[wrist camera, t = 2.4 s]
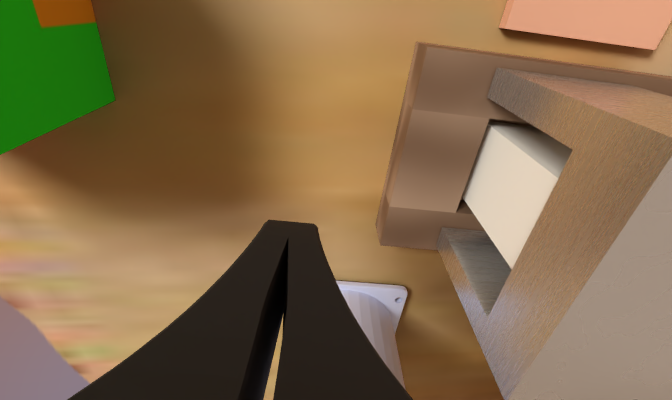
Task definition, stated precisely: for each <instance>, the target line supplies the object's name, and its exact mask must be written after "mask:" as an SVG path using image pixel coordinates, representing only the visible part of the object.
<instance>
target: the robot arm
mask: <svg viewBox="0 0 672 400" xmlns="http://www.w3.org/2000/svg"><path fill="white" fill-rule="evenodd" d="M407 294H408V293H407V289H406V288H405V287H404V286H399V285H386V284H373V283H360V282H347V281H336V280H335V278H334V276H333V273H332V271H331V269H330V266H329V264H328V262H327V259H326V256H325V253H324V251H323V248H322V245H321V241H320V237H319V233H318V228H317V226H316V225H315V224H310V223H298V222H287V221H276V220H268V221H267V222H265V223H264V225H263V227H262V228H261V230H260V231H259V232H258V234H257V235H256V236H255V238H254V239H253V240H252V242H251V243H250V244H249V245H248V247H247V248H246V249H245V250H244V252H243V253H242V254H241V255H240V256H239V257H238V259H237V260H236V261H235V262H234V263H233V264H232V265H231V267H230V268H229V269H228V270H227V271H226V272H225V273H224V274H223V275H222V276H221V277H220V278H219V279H218V280H217V281H216V282H215V283H214V284H213V285H212V286H211V287H210V288H209V289H208V290H207V291H206V292H205V293H204V294H203V295H202V296H201V297H200V298H199V299H198V300H197V301H196V302H195V303H194V304H193V305H192V306H191V307H189V308H188V309H187V310H186V311H185V312H184V313H183V314H182V315H180V316H179V317H178V318H177V319H176V320H175V321H173V322H172V323H171V324H170V325H169V326H168V327H166V328H165V329H164V330H163V331H161V332H160V333H159V334H158V335H156V336H155V337H154V338H152V339H151V340H150V341H149V342H147V343H146V344H145V345H144V346H142V347H141V348H140V349H139V350H137V351H136V352H135V353H133V354H132V355H131V356H129V357H128V358H127V359H125V360H124V361H123V362H121V363H120V364H118V365H117V366H116V367H114V368H113V369H111V370H110V371H109V372H107V373H106V374H104V375H103V376H101V377H100V378H98V379H97V380H95V381H94V382H92V383H91V384H90V385H88V386H87V387H85V388H84V389H82V390H81V391H79V392H78V393H76V394H75V395H73V396H72V397H71V398H69V399H68V400H263V398H264V393H265V389H266V385H267V380H268V376H269V372H270V368H271V363H272V359H273V355H274V351H275V346H276V342H277V338H278V334H279V329H280V325H281V321H282V316H283V340H282V346H281V353H280V359H279V366H278V373H277V379H276V386H275V392H274V399H273V400H413V399H412V398H411V397H410V395H409V394H408V393H407V391H406V389H405V384H404V379H403V374H402V369H401V364H400V359H399V354H398V349H397V344H396V339H395V332H396V329H397V326H398V323H399V320H400V317H401V314H402V310H403V307H404V304H405V301H406V298H407ZM399 297H400V298H399ZM396 298H398V299H396Z"/></svg>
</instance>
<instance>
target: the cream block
mask: <svg viewBox="0 0 672 400" xmlns="http://www.w3.org/2000/svg"><path fill="white" fill-rule="evenodd" d="M572 151H573V150H572V149H571V148H569V147H567V146H566V145H564V144H562V143H561V142H559V141H557V140H556V139H554V138H553V137H551V136H549V135H548V134H546V133H544V132H543V131H541V130H540V129H538V128H536V127H534V126H526V125H517V124H509V123H501V122H492V121H489V122H488V124H487V127H486V130H485V133H484V136H483V138H482V141H481V144H480V147H479V149H478V152H477V155H476V158H475V161H474V163H473V166H472V169H471V172H470V175H469V177H468V180H467V183H466V186H465V188H464V191H463V194H462V197H463V199H464V200H465V202H466V203H467V205H468V206H469V208H470V209H471V211H472V212H473V214H474V215H475V216H476V218H477V219H478V221H479V222H480V224H481V225H482V227H483V228H484V230H485V231H486V233H487V234H488V236H489V237H490V238H491V240H492V241H493V243H494V244H495V246H496V247H497V249H498V250H499V252H500V253H501V255H502V256H503V257H504V259H505V260H506V262H507V263H508V265H509V266H510V268H511V269H512V268H513V266H514V265H515V263H516V261H517V259H518V257H519V255H520V253H521V251H522V249H523V247H524V245H525V243H526V241H527V239H528V237H529V235H530V233H531V231H532V229H533V227H534V225H535V223H536V221H537V219H538V217H539V215H540V213H541V211H542V210H543V208H544V206H545V204H546V202H547V200H548V198H549V196H550V194H551V192H552V190H553V188H554V186H555V184H556V182H557V180H558V178H559V176H560V174H561V172H562V170H563V168H564V166H565V164H566V162H567V160H568V158H569V156H570V155H571V153H572Z"/></svg>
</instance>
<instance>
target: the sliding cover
mask: <svg viewBox="0 0 672 400" xmlns="http://www.w3.org/2000/svg"><path fill="white" fill-rule="evenodd" d="M487 98H489V99H490V100H492V101H494V102H495V103H497V104H499V105H500V106H502V107H504V108H505V109H507V110H508V111H510V112H512V113H513V114H515V115H517V116H518V117H520V118H522V119H523V120H525V121H526V122H528V123H530V124H531V125H533V126H535V127H536V128H538V129H540V130H541V131H543V132H544V133H546V134H548V135H549V136H551V137H553V138H554V139H556V140H557V141H559V142H561V143H562V144H564V145H566V146H567V147H569V148H571V149H572V150H573V151H572V153H571V155H570V156H569V158H568V160H567V162H566V164H565V166H564V168H563V170H562V172H561V174H560V176H559V178H558V180H557V182H556V184H555V186H554V188H553V190H552V192H551V194H550V196H549V198H548V200H547V202H546V204H545V206H544V208H543V210H542V211H541V213H540V215H539V217H538V219H537V221H536V223H535V225H534V227H533V229H532V231H531V233H530V235H529V237H528V239H527V241H526V243H525V245H524V247H523V249H522V251H521V253H520V255H519V257H518V259H517V261H516V263H515V265H514V266H513V268H512V269H511V268H510V266H509V265H508V263H507V262H506V260H505V259H504V257H503V256H502V255H501V253H500V252H499V250H498V249H497V247H496V246H495V244H494V243H493V241H492V240H491V238H490V237H489V236H488V234H487V233H486V231H476V230H465V229H455V228H444V227H442V229H441V232H440V235H439V238H438V241H437V244H436V247H437V249H438V251H439V253H440V256H441V258H442V260H443V263H444V265H445V267H446V269H447V272H448V274H449V276H450V278H451V281H452V283H453V285H454V288H455V290H456V292H457V294H458V297H459V299H460V301H461V303H462V306H463V308H464V310H465V312H466V315H467V317H468V319H469V322H470V324H471V326H472V328H473V331H474V333H475V335H476V337H477V340H478V342H479V344H480V347H481V349H482V351H483V353H484V356H485V358H486V360H487V362H488V365H489V367H490V369H491V371H492V374H493V376H494V378H495V381H496V383H497V385H498V387H499V390H500V392H501V394H502V396H503V399H504V400H672V97H671V96H667V95H664V94H660V93H657V92H653V91H650V90H646V89H642V88H639V87H635V86H631V85H624V84H616V83H609V82H601V81H594V80H586V79H579V78H571V77H564V76H556V75H549V74H541V73H534V72H526V71H519V70H511V69H504V68H497V69H496V72H495V75H494V78H493V81H492V83H491V86H490V89H489V92H488V95H487Z"/></svg>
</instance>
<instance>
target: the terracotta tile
mask: <svg viewBox="0 0 672 400" xmlns="http://www.w3.org/2000/svg"><path fill="white" fill-rule="evenodd" d="M671 20H672V0H508V1H507V4H506V7H505V10H504V13H503V16H502V19H501V22H500V25H499V28H504V29H511V30H518V31H525V32H532V33H539V34H546V35H553V36H560V37H567V38H574V39H581V40H588V41H595V42H602V43H609V44H616V45H623V46H630V47H637V48H644V49H651V50H655V49H656V48H657V46H658V44H659V42H660V40H661V38H662V37H663V35H664V33H665V31H666V29H667V28H668V26H669V24H670V22H671Z"/></svg>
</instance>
